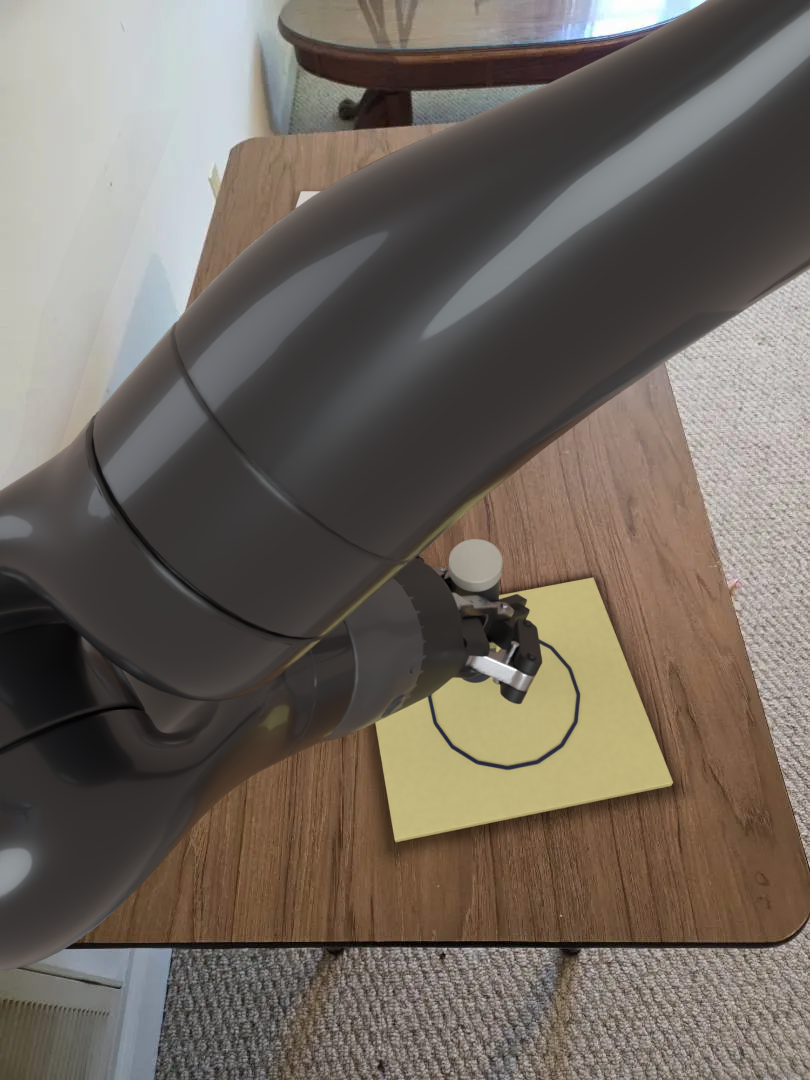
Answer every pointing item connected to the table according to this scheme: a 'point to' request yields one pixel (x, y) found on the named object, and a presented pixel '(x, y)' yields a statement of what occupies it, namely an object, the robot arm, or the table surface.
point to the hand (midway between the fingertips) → (493, 597)
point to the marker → (476, 575)
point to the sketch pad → (525, 730)
